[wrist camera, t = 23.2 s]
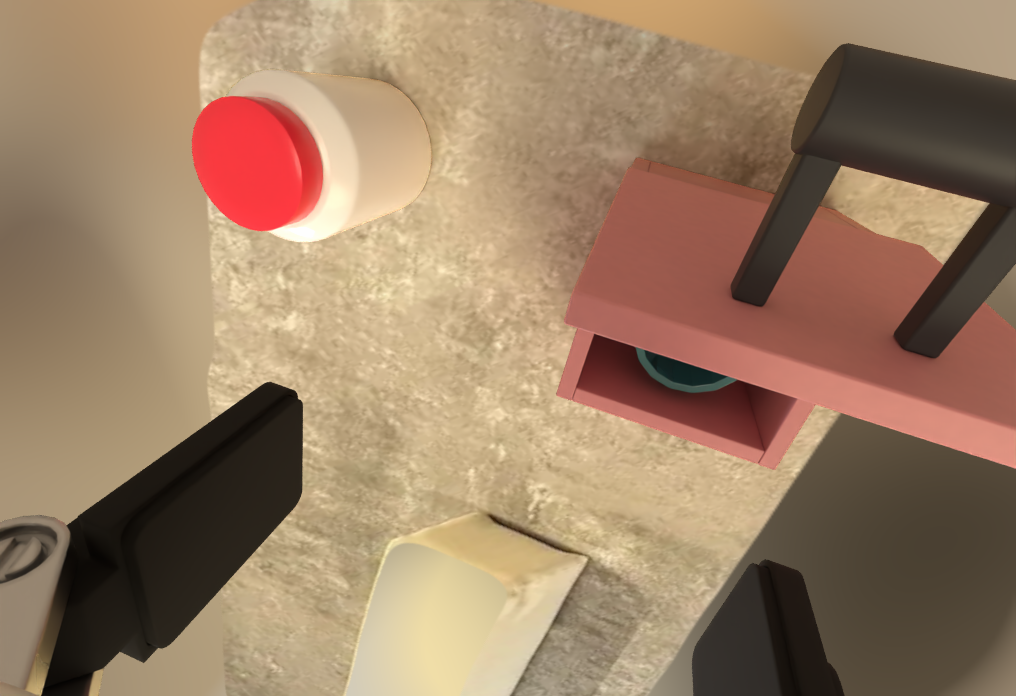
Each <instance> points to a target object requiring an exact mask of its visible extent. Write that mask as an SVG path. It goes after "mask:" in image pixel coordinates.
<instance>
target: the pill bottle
mask: <svg viewBox="0 0 1016 696" xmlns="http://www.w3.org/2000/svg"><path fill="white" fill-rule="evenodd" d="M192 154H193V160H194V166H195V169H196V172H197V175H198V178H199V180H200V182H201V184H202V186H203V188H204V190H205V192H206V194H207V195H208V197H209V198H210V200H211V201H212V202H213V203H214V205H215V206H216V207H217V208H218V209H219V210H220V211H221V212H222V213H223V214H224V215H225V216H226V217H228V218H229V219H230V220H232V221H233V222H235V223H237V224H238V225H240V226H243V227H245V228H248V229H251V230H257V231H268V232H270V233H272V234H273V235H275V236H278V237H281V238H283V239H286V240H290V241H296V242H315V241H318V240H322V239H325V238H328V237H331V236H334V235H336V234H339V233H341V232H344V231H347V230H349V229H352V228H354V227H357V226H359V225H362V224H365V223H367V222H370V221H372V220H375V219H378V218H380V217H383V216H385V215H388V214H391V213H393V212H396V211H398V210H401V209H402V208H404V207H406V206H408V205H409V204H410V203H412V202H413V201H414V200H415V199H416V198H417V197H418V195H419V194H420V192H421V191H422V189H423V188H424V186H425V184H426V181H427V179H428V176H429V171H430V166H431V144H430V138H429V134H428V131H427V128H426V125H425V122H424V120H423V118H422V116H421V114H420V113H419V111H418V109H417V108H416V107H415V105H414V104H413V103H412V101H411V100H410V99H409V98H408V97H407V96H406V95H405V94H404V93H402V92H401V91H400V90H399V89H397V88H395V87H394V86H392V85H391V84H389V83H386V82H383V81H380V80H377V79H369V78H359V77H349V76H339V75H329V74H319V73H309V72H299V71H289V70H279V69H266V70H260V71H256V72H253V73H251V74H249V75H247V76H245V77H243V78H241V79H240V80H239V81H238V82H237V83H236V84H234V85H233V86H232V87H231V89H230V90H229V92H228V93H227V94H226V96H225V97H221V98H219V99H217V100H215V101H213V102H211V103H210V104H209V105H208V106H206V107H205V108H204V109H203V111H202V112H201V114H200V115H199V117H198V118H197V121H196V124H195V127H194V131H193V138H192Z"/></svg>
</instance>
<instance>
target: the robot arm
mask: <svg viewBox="0 0 1016 696" xmlns="http://www.w3.org/2000/svg"><path fill="white" fill-rule="evenodd" d="M302 454H303V403H302V401H301V400H299V399H298V395H297V393H296V391H294V390H292V389H289V388H286V387H283V386H281V385H278V384H275V383H272V382H266V383H265V384H263V385H261V386H260V387H258V388H257V389H256V390H254V391H253V392H251V393H250V394H249V395H247V396H246V397H244V398H243V399H242V400H240V401H239V402H237V403H236V404H235V405H233V406H232V407H230V408H229V409H228V410H226V411H225V412H223V413H222V414H221V415H219V416H218V417H216V418H215V419H214V420H212V421H211V422H209V423H208V424H207V425H205V426H204V427H202V428H201V429H200V430H198V431H197V432H195V433H194V434H192V435H191V436H190V437H188V438H187V439H185V440H184V441H183V442H181V443H180V444H178V445H177V446H176V447H174V448H173V449H171V450H170V451H169V452H168V453H166V454H164V455H163V456H162V457H160V458H159V459H158V460H156V461H155V462H153V463H152V464H151V465H149V466H148V467H146V468H145V469H143V470H142V471H141V472H139V473H138V474H136V475H135V476H134V477H132V478H131V479H130V480H128V481H127V482H125V483H124V484H122V485H121V486H120V487H118V488H117V489H115V490H114V491H113V492H111V493H110V494H108V495H107V496H106V497H104V498H103V499H101V500H100V501H99V502H97V503H96V504H94V505H93V506H92V507H90V508H89V509H87V510H86V511H85V512H83V513H82V514H80V515H79V516H78V518H76V519H75V520H74V521H72V522H71V523H69V524H68V525H66V524H65V523H63V522H62V521H60V520H58V519H56V518H54V517H48V516H42V515H36V516H23V517H18V518H13V519H9V520H5V521H2V522H0V696H99V690H100V686H101V680H102V676H103V670H104V667H105V666H106V665H107V664H108V663H109V662H110V661H111V660H112V659H113V658H114V657H115V656H116V655H117V654H118V653H119V652H122V653H124V654H126V655H128V656H130V657H133V658H135V659H137V660H139V661H141V662H143V663H144V662H145V661H146V660H147V659H148V658H149V657H150V656H151V655H152V654H153V653H154V652H155V651H156V649H157V648H165V647H167V646H168V645H170V644H171V643H172V642H173V641H174V640H175V639H176V638H177V637H178V635H180V634H181V632H182V631H183V630H184V629H185V628H186V627H187V626H188V625H189V624H190V622H191V621H192V620H193V619H194V618H195V617H196V616H197V615H198V614H199V612H200V611H201V610H202V609H203V608H204V607H205V606H206V605H207V604H208V602H209V601H210V600H211V599H212V598H213V597H214V596H215V595H216V594H217V593H218V591H219V590H220V589H221V588H222V587H223V586H224V585H225V584H226V583H227V582H228V580H229V579H230V578H231V577H232V576H233V575H234V574H235V573H236V572H237V570H238V569H239V568H240V567H241V566H242V565H243V564H244V563H245V562H246V561H247V559H248V558H249V557H250V556H251V555H252V554H253V553H254V552H255V551H256V549H257V548H258V547H259V546H260V545H261V544H262V543H263V542H264V541H265V540H266V538H267V537H268V536H269V535H270V534H271V533H272V532H273V531H274V530H275V528H276V527H277V526H278V525H279V524H280V523H281V522H282V521H283V520H284V519H285V517H286V516H287V515H288V514H289V513H290V512H291V511H292V510H293V509H294V507H295V506H296V505H297V503H298V501H299V499H300V497H301V494H302ZM692 674H693V693H694V694H693V696H844V693H843V689H842V686H841V683H840V680H839V677H838V675H837V673H836V671H835V669H834V668H833V667H832V665H831V664H829V663H828V662H827V659H826V655H825V652H824V649H823V645H822V642H821V638H820V634H819V631H818V627H817V624H816V621H815V617H814V613H813V610H812V607H811V603H810V600H809V596H808V593H807V589H806V585H805V582H804V579H803V576H802V575H801V573H800V572H799V571H797V570H795V569H792V568H789V567H786V566H784V565H781V564H778V563H775V562H772V561H770V560H763V561H762V562H761V563H760V564H759V565H757V564H754V563H752V564H750V565H749V566H748V568H747V569H746V571H745V572H744V574H743V575H742V577H741V578H740V580H739V581H738V583H737V584H736V586H735V587H734V589H733V590H732V592H731V593H730V595H729V596H728V598H727V599H726V601H725V602H724V603H723V605H722V607H721V608H720V609H719V611H718V612H717V614H716V616H715V617H714V619H713V620H712V621H711V623H710V624H709V626H708V627H707V629H706V630H705V632H704V634H703V635H702V636H701V638H700V640H699V641H698V643H697V644H696V646H695V649H694V653H693V658H692Z"/></svg>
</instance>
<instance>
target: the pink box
mask: <svg viewBox="0 0 1016 696" xmlns="http://www.w3.org/2000/svg"><path fill="white" fill-rule="evenodd" d="M631 168H634V169H638V170H642V171H645V172H649V173H653V174H656V175H660V176H664V177H667V178H671V179H675V180H679V181H682V182H686V183H690V184H693V185H697V186H701V187H705V188H708V189H712V190H716V191H719V192H723V193H727V194H730V195H734V196H738V197H742V198H745V199H749V200H753V201H756V202H760V203H764V204H768V205H770V203H771V201H772V199H773V197H774V195H775V194H773V193H769V192H765V191H761V190H757V189H754V188H750V187H746V186H742V185H739V184H735V183H731V182H727V181H724V180H720V179H716V178H712V177H709V176H705V175H701V174H697V173H694V172H690V171H686V170H682V169H679V168H675V167H671V166H667V165H664V164H660V163H656V162H652V161H649V160H645V159H641V158H636V159H635V161H634V162H633V164H632V166H631ZM813 217H816V218H819V219H823V220H827V221H831V222H834V223H838V224H842V225H845V226H849V227H853V228H856V229H860V230H864V231H868V232H871V233H874V232H872V231H871V230H869V229H867V228H865V227H864V226H862V225H860V224H859V223H857V222H855V221H854V220H852V219H850V218H848V217H847V216H845V215H843V214H842V213H840V212H838V211H836V210H833V209H829V208H825V207H821V206H819V207H818V209H817V210H816V212H815V214H814V216H813ZM875 234H876V233H875ZM556 395H557V396H559V397H562V398H565V399H568V400H572V401H574V402H577V403H580V404H583V405H586V406H589V407H592V408H595V409H598V410H601V411H604V412H607V413H609V414H612V415H615V416H618V417H621V418H624V419H627V420H630V421H633V422H636V423H639V424H642V425H645V426H648V427H650V428H653V429H656V430H659V431H662V432H665V433H668V434H671V435H674V436H677V437H680V438H683V439H686V440H689V441H691V442H694V443H697V444H700V445H703V446H706V447H709V448H712V449H715V450H718V451H721V452H724V453H727V454H730V455H732V456H735V457H738V458H741V459H744V460H747V461H750V462H753V463H756V464H757V463H758V464H759V465H761V466H764V467H767V468H770V469H773V470H775V469H776V468H777V466H778V464H779V463H780V461H781V460H782V458H783V456H784V455H785V453H786V452H787V450H788V448H789V447H790V445H791V443H792V442H793V440H794V439H795V437H796V435H797V434H798V432H799V431H800V429H801V427H802V426H803V424H804V423H805V421H806V419H807V418H808V416H809V414H810V413H811V411H812V410H813V408H814V406H815V405H816V404H813V403H810V402H806V401H803V400H800V399H797V398H794V397H791V396H788V395H785V394H781V393H778V392H775V391H772V390H769V389H766V388H763V387H760V386H756V385H753V384H750V383H747V382H744V381H741V380H737V381H735V382H732V383H730V384H728V385H726V386H724V387H722V388H720V389H718V390H715V391H707V392H699V393H689V392H684V391H679V390H675V389H670V388H668V387H666V386H665V385H663V384H662V383H660V382H658V381H657V380H655V379H654V378H652V377H651V376H650V375H649V374H648V372H647V371H646V370H645V368H644V367H643V366H642V364H641V363H640V362H639V360H638V357H637V352H636V347H635V346H631V345H628V344H625V343H622V342H619V341H616V340H613V339H610V338H606V337H603V336H600V335H597V334H594V333H591V332H588V331H585V330H581V329H578V328H577V331H576V334H575V337H574V340H573V343H572V346H571V349H570V353H569V356H568V359H567V362H566V365H565V368H564V371H563V375H562V378H561V381H560V384H559V387H558V390H557V393H556Z"/></svg>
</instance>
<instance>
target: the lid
mask: <svg viewBox="0 0 1016 696" xmlns="http://www.w3.org/2000/svg"><path fill="white" fill-rule="evenodd" d="M791 150H792V151H793V152H794V153H795V155H794V157H793V159H792V161H791V163H790V165H789V167H788V169H787V171H786V173H785V175H784V177H783V179H782V181H781V183H780V185H779V187H778V189H777V191H776V193H775V195H774V197H773V199H772V201H771V203H770V205H768V204H764V203H760V202H756V201H753V200H749V199H745V198H742V197H738V196H734V195H730V194H727V193H723V192H719V191H716V190H712V189H708V188H705V187H701V186H697V185H693V184H690V183H686V182H682V181H679V180H675V179H671V178H667V177H664V176H660V175H656V174H653V173H649V172H645V171H642V170H638V169H634V168H628V169H627V171H626V174H625V176H624V178H623V180H622V183H621V185H620V187H619V189H618V191H617V194H616V196H615V198H614V200H613V203H612V205H611V207H610V209H609V212H608V214H607V216H606V218H605V220H604V223H603V225H602V227H601V229H600V232H599V234H598V236H597V238H596V240H595V243H594V245H593V247H592V249H591V252H590V254H589V256H588V258H587V261H586V263H585V265H584V267H583V269H582V272H581V274H580V276H579V278H578V281H577V283H576V285H575V287H574V290H573V292H572V295H571V298H570V302H569V305H568V308H567V312H566V315H565V319H564V323H565V324H566V325H569V326H572V327H575V328H578V329H581V330H585V331H588V332H591V333H594V334H597V335H600V336H603V337H606V338H610V339H613V340H616V341H619V342H622V343H625V344H628V345H631V346H635V347H638V348H641V349H644V350H647V351H650V352H653V353H656V354H660V355H663V356H666V357H669V358H672V359H675V360H678V361H681V362H685V363H688V364H691V365H694V366H697V367H700V368H703V369H706V370H710V371H713V372H716V373H719V374H722V375H725V376H728V377H731V378H735V379H738V380H741V381H744V382H747V383H750V384H753V385H756V386H760V387H763V388H766V389H769V390H772V391H775V392H778V393H781V394H785V395H788V396H791V397H794V398H797V399H800V400H803V401H806V402H810V403H813V404H816V405H819V406H822V407H825V408H828V409H831V410H835V411H838V412H841V413H844V414H847V415H851V416H853V417H856V418H860V419H863V420H866V421H869V422H872V423H875V424H879V425H881V426H885V427H888V428H891V429H894V430H897V431H900V432H903V433H906V434H910V435H913V436H916V437H919V438H922V439H925V440H928V441H931V442H935V443H938V444H941V445H944V446H947V447H951V448H953V449H956V450H959V451H963V452H966V453H969V454H972V455H975V456H978V457H981V458H985V459H988V460H991V461H994V462H997V463H1000V464H1003V465H1007V466H1010V467H1013V468H1016V330H1015V329H1014V328H1013V327H1012V326H1010V325H1009V324H1008V323H1007V322H1006V321H1005V320H1004V319H1003V318H1002V317H1001V316H999V315H998V314H997V313H996V312H995V311H994V310H993V309H992V308H990V307H989V306H988V305H987V304H986V303H985V302H984V301H985V300H986V299H987V298H988V296H989V295H990V294H991V293H992V291H993V290H994V289H995V288H996V287H997V285H998V284H999V283H1000V282H1001V281H1002V279H1003V278H1004V277H1005V276H1006V275H1007V273H1008V272H1009V271H1010V270H1011V269H1012V267H1013V266H1014V265H1015V264H1016V80H1012V79H1007V78H1002V77H998V76H994V75H989V74H985V73H980V72H976V71H971V70H967V69H962V68H958V67H953V66H949V65H944V64H939V63H935V62H931V61H926V60H921V59H917V58H912V57H908V56H903V55H899V54H894V53H890V52H885V51H881V50H876V49H872V48H867V47H863V46H858V45H854V44H849V43H848V44H843V45H841V46H839V47H838V48H837V49H836V50H835V51H834V52H833V54H832V55H831V56H830V57H829V59H828V60H827V61H826V62H825V64H824V65H823V67H822V69H821V70H820V72H819V73H818V75H817V77H816V79H815V80H814V82H813V84H812V86H811V88H810V90H809V92H808V94H807V96H806V98H805V100H804V103H803V105H802V107H801V110H800V112H799V115H798V117H797V120H796V123H795V126H794V130H793V134H792V140H791ZM841 165H842V166H846V167H850V168H854V169H858V170H862V171H866V172H870V173H874V174H878V175H881V176H885V177H889V178H893V179H897V180H901V181H905V182H909V183H913V184H917V185H921V186H925V187H929V188H933V189H937V190H940V191H944V192H948V193H952V194H956V195H960V196H964V197H968V198H972V199H976V200H980V201H984V202H988V203H989V205H988V206H987V208H986V209H985V210H984V212H983V213H982V214H981V216H980V217H979V218H978V220H977V221H976V222H975V224H974V225H973V226H972V228H971V229H970V230H969V232H968V233H967V234H966V236H965V237H964V239H963V240H962V241H961V243H960V244H959V245H958V247H957V248H956V249H955V251H954V252H953V253H952V255H951V256H950V257H949V259H948V260H947V261H946V263H945V264H944V265H942V264H941V263H940V262H939V261H938V260H937V259H936V258H935V257H933V256H932V255H931V254H930V253H929V252H928V251H927V250H926V249H925V248H923V247H922V246H919V245H916V244H912V243H908V242H905V241H901V240H897V239H894V238H890V237H886V236H882V235H879V234H875V233H871V232H868V231H864V230H860V229H856V228H853V227H849V226H845V225H842V224H838V223H834V222H831V221H827V220H823V219H819V218H816V217H813V216H814V214H815V212H816V210H817V209H818V207H819V205H820V203H821V201H822V199H823V198H824V196H825V194H826V192H827V190H828V188H829V187H830V185H831V183H832V181H833V179H834V178H835V176H836V174H837V172H838V170H839V168H840V167H841Z"/></svg>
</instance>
